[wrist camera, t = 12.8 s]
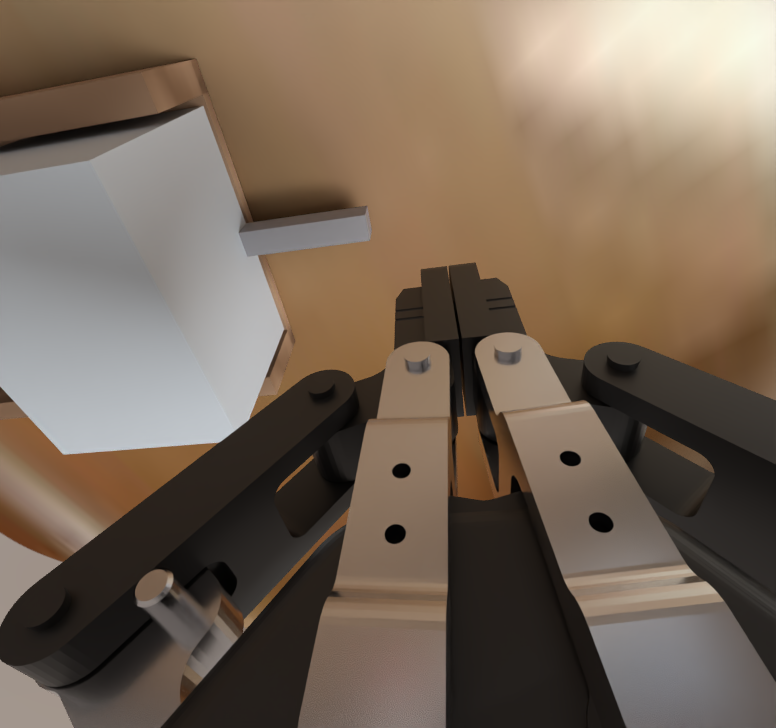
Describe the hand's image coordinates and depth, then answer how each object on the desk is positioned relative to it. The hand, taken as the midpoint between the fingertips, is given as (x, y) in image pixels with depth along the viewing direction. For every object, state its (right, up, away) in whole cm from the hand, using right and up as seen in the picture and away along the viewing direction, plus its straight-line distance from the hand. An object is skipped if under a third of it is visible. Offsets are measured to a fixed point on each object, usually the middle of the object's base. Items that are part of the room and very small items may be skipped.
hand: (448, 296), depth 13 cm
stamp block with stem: (-8, +3, +6) cm, 11 cm away
